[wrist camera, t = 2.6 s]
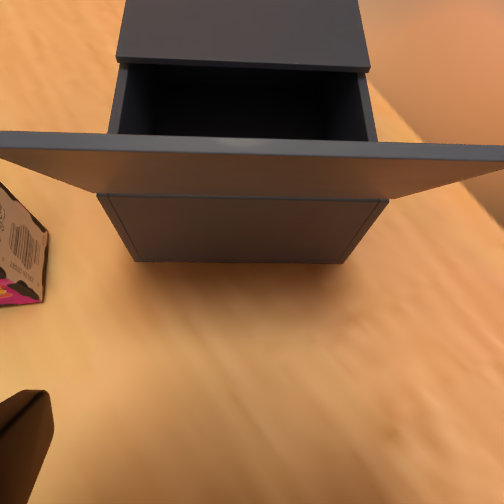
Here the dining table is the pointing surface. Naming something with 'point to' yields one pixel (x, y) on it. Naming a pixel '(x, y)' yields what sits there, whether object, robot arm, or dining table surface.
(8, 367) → the dining table surface
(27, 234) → the candy bar box
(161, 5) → the carton
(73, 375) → the dining table surface
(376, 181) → the flap
